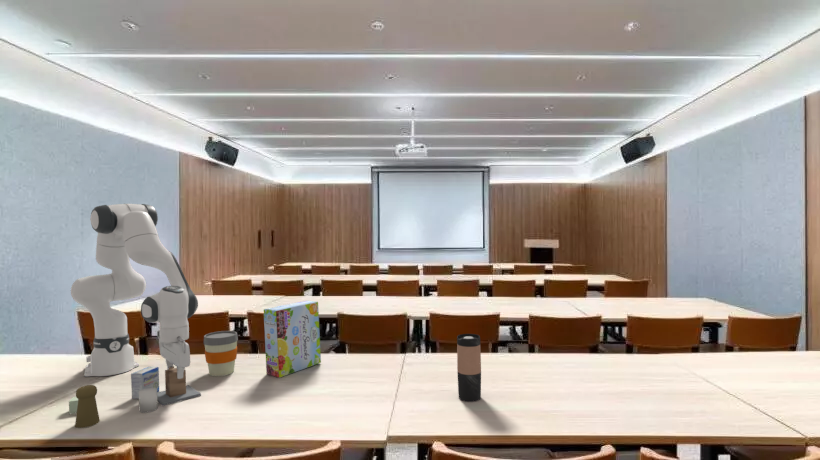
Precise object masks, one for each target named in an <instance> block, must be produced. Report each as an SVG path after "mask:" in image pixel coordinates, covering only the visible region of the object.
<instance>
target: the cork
mask: <svg viewBox="0 0 820 460" xmlns="http://www.w3.org/2000/svg"><path fill="white" fill-rule="evenodd" d="M97 394H98V387H97V386H96V385H93V384H87V385H83V386H80V387H78V388H77V389H76V391H75V397H77V398H78V406H77V413H75V416H76V417H75V422H74V423H75V424H74V427H75V428H77V429H84V428H85V429H86V428H89V427H92V426H95V425H97V424H99V423H100V422H101V420H100V414H99V411H98V410H99V409H98V404H97V399H96V395H97Z"/></svg>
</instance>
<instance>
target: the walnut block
mask: <svg viewBox="0 0 820 460" xmlns="http://www.w3.org/2000/svg"><path fill="white" fill-rule="evenodd" d="M186 371H187V370H186V368H185V369H184V373H183V378H181V379H178V378H177V377H176V373H177V367H174V368H173V369H168V370H167V369H165V370H164V382H165V385H164V386H165V390H166V394H167V395H168V396H169V397H174V396H178V395H182V394H186V385H187V379H186V378H187V376H186V375H187V373H186Z"/></svg>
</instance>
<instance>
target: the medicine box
mask: <svg viewBox="0 0 820 460" xmlns="http://www.w3.org/2000/svg"><path fill="white" fill-rule="evenodd" d="M159 369H160V367H158V366H147V367H143V368H142V369H139V370H137V371H135V372H131V374H130V385H131V399H135V400H136V399H137V400H139V391H140V390H143V389H146V388H157V392H160V371H159Z"/></svg>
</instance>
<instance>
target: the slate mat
mask: <svg viewBox="0 0 820 460" xmlns="http://www.w3.org/2000/svg"><path fill="white" fill-rule="evenodd" d="M200 396H202V393H201V392H199V391H198V390H197V389H195V388H194V387H192V386H191V385H190V384H186V394H182V395H178V396H174V397H169V396H168V395H167V394H166V389H164V390H162V391H158V392H157V403H158V404H159V405H161V406H165V405H166V406H167V405H170V404H173V403H179V402H182V401H185V400H189V399H193V398H198V397H200Z"/></svg>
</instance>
